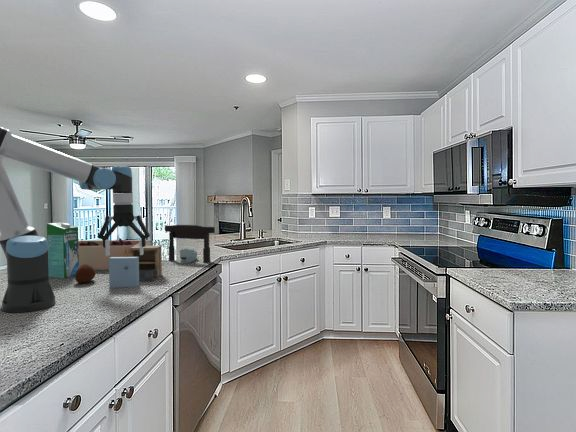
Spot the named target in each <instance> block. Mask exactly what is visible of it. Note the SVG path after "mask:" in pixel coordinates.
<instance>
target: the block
mask: <svg viewBox="0 0 576 432" xmlns="http://www.w3.org/2000/svg"><path fill="white" fill-rule="evenodd" d="M108 279H109V282H108V284H109V287H108V288H138V287H139V286H140V281H139V257H111V258H109V270H108Z"/></svg>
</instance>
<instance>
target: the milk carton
mask: <svg viewBox="0 0 576 432" xmlns="http://www.w3.org/2000/svg"><path fill="white" fill-rule="evenodd" d="M46 239H47V241H48V245H49V249H48V266H49V278H51V277H53V279H57V278H58V279H67V277H68V278H70V277H75V273H76V271H77V270H78V268H79V253H78V241H79V227H78V226H75V225H72V223H68V222H63V221H61V222H60V221H59V222H49V223H46Z"/></svg>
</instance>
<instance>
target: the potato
mask: <svg viewBox="0 0 576 432" xmlns="http://www.w3.org/2000/svg"><path fill="white" fill-rule="evenodd" d="M95 276H96V270H94V268H93V267H92V266H90V265H86V264H85V265H82V266H80V267H79V268H78V270H77V271H76V273H75V276H74V280H75V281H76V282H77V283H78V284H84V283H88V282H91V281H92V280H94V278H95Z"/></svg>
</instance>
